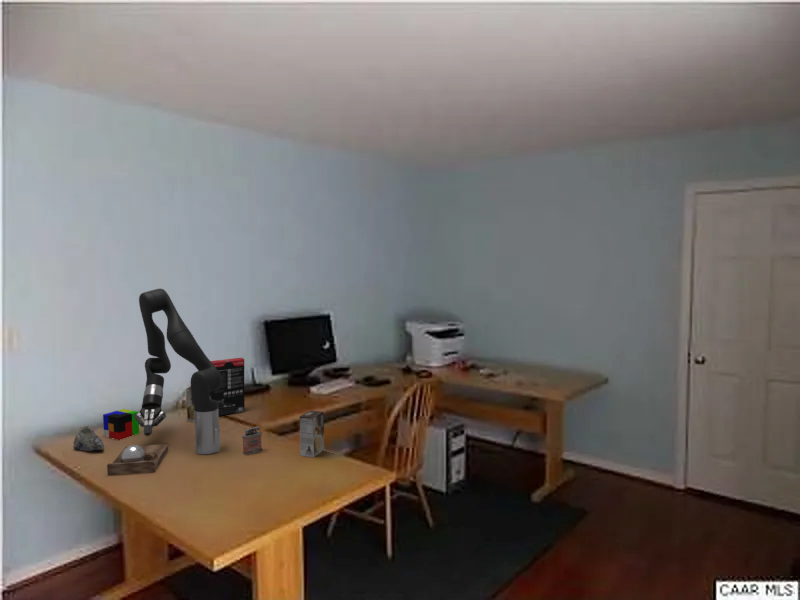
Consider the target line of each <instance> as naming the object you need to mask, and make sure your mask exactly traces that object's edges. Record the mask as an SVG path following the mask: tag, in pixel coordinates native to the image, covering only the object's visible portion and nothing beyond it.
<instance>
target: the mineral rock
mask: <svg viewBox="0 0 800 600" xmlns="http://www.w3.org/2000/svg"><path fill="white" fill-rule="evenodd" d="M72 447H73V449H74V450H79V451H86V452H92V451H100V450H104V449H105V445H104V443H103V441H102V438H100V437H99V436H98V434H96V433H95V430H94V429H92V428H91V427H89V426H88V425H87V426H81V427H80V428H79V429H78V430H77V432H76V434H75V437H74V440H73V446H72Z"/></svg>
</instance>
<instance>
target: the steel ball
mask: <svg viewBox="0 0 800 600" xmlns="http://www.w3.org/2000/svg"><path fill="white" fill-rule="evenodd" d="M140 446H141V445H138V444H131V445H129V446H128V447H127V446H126V447H127V448H125V447H124V448H125V449H124V448H123V449H124V451H123V450H122V451H123V453H122V456H121V458H122V462H123V463H126V462H141V461H145V460H144V457H145V452H144V450H143V449H142V448H141V447H140Z"/></svg>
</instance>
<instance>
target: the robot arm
mask: <svg viewBox="0 0 800 600" xmlns="http://www.w3.org/2000/svg"><path fill="white" fill-rule="evenodd" d="M138 303H139V308H140V309H139V310H140V313H141V317H142V322H143V325H144V329H145V333H146V341H147V343H146V345H147V352H148V355H150V356H152V357H148V358H147V359H146V360H145V363H144V368H145V374H146V383H145V389H144V390H143V391H144V392H143V395H142V396H143V397H142V402H141V407H140V410H139V412H138V414H134V418H135V419H136V421H137V422H138V423H139V427H142V428H143V434H144V436H145V437H150V436H151V435H152V433H153V427H158V426H159V425H160V424H161V423H162V422H163V420H165V419H166V418H167V413H166V412H164V411H163V410H162V403H163V398H164V384H165V378H164V376H163V375H161V374H167V373H169V372H170V370H171V368H172V364H171V361H170V358H169V356H168V354H167V350H166V340H167V342H168V344H169V345H170V347H171V348H172V350H173V351H174V352H175V353H176V354H177V355H178V356H179V357H181V358H183V359H184V360H186V361H188V362H189V363H190V364H192V365H193V366H194V367H195V368H196V369H197V371H195V372H194V373H192V375H191V378H190V387H191V395H192V403H193V405H194V418H195V422H194V440H195V442H194V443H195V453H197V454H198V455H210V454H214V453H219V452H220V449H221V428H220V426H221V425H220V423H219V422H220V420H219V418H220V416H218V402H217V401H216V400H212V399H210V397H209V392H211V391H214V390H217V389H219V388H220V387H221V385H222V377H221V375H220V373H219V371H218V370H217V369H216V367H215V366H214V365H213V364H212V362H211V361H212V360H210V359H209V358H208V357H207V355H206V354H205V352H204V351H203V349H202V348H201V346H200V345H199V343H198V342H197V340H196V338H195V337H194V335H193V334H192V331H190V329H189V328H188V327H187V325H186V323H185V322H184V321H183V319H182V318H181V316H180V314H179V312H178V311H177V308H176V307H175V305H174V303H173V301H172V298H171V297H170V295H169V293H168V292H167V291H166V290H165V289H164V288H156V289H152V290H148V291H144V292H142V293H140V294H139V297H138ZM160 311H163V313H164V314H165V316H166V318H167V325H166V339H165V335H164V332H163V331H162V330H161V328H160V327H159V326H158V325H157V324H156V323H155V321H154V319H153V314H154V313H157V312H160ZM141 418H143V419H144V422H143V420H142V419H141Z"/></svg>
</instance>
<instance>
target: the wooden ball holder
mask: <svg viewBox="0 0 800 600" xmlns="http://www.w3.org/2000/svg"><path fill="white" fill-rule="evenodd" d="M139 446H140V447H141V448H142V449H143V450H144V452H145V457H144V460H143V461H141V462H126V463H123V462H122V458H121V456H122V453H123V451H124V449H125V448H127V447H128V446H125V447H124V448H123V449H122V450H121V452H119V454H118V455H117V457H116V458H115V459H114V460H113V461H112V463H107V465H106V469H107V470H106V471H107V476H117V475H119V476H120V475H121V476H122V475H132V474H133V475H134V473H135V474H147V473H146V472H150V473H155V472H156V471H155V470H157V468H159V465H160V464H161V463H162V460H164V458H165V456H166V454H167V452H168V451H169V444H168V443H164V444H163V443H162V444H148V445H147V444H146V445H139Z"/></svg>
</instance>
